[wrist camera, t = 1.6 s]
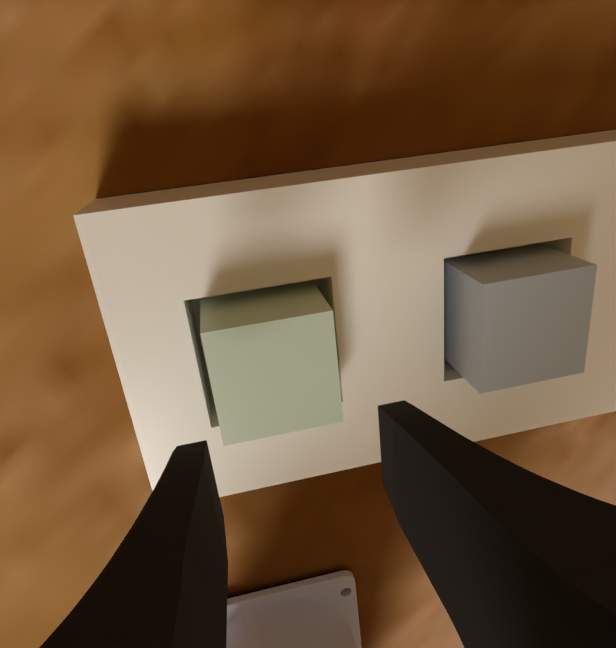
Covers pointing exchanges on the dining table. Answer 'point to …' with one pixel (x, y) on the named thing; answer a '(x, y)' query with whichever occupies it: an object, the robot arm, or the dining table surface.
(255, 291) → the sage button
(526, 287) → the slate button
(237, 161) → the dining table surface
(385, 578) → the dining table surface
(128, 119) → the dining table surface
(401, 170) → the button panel
